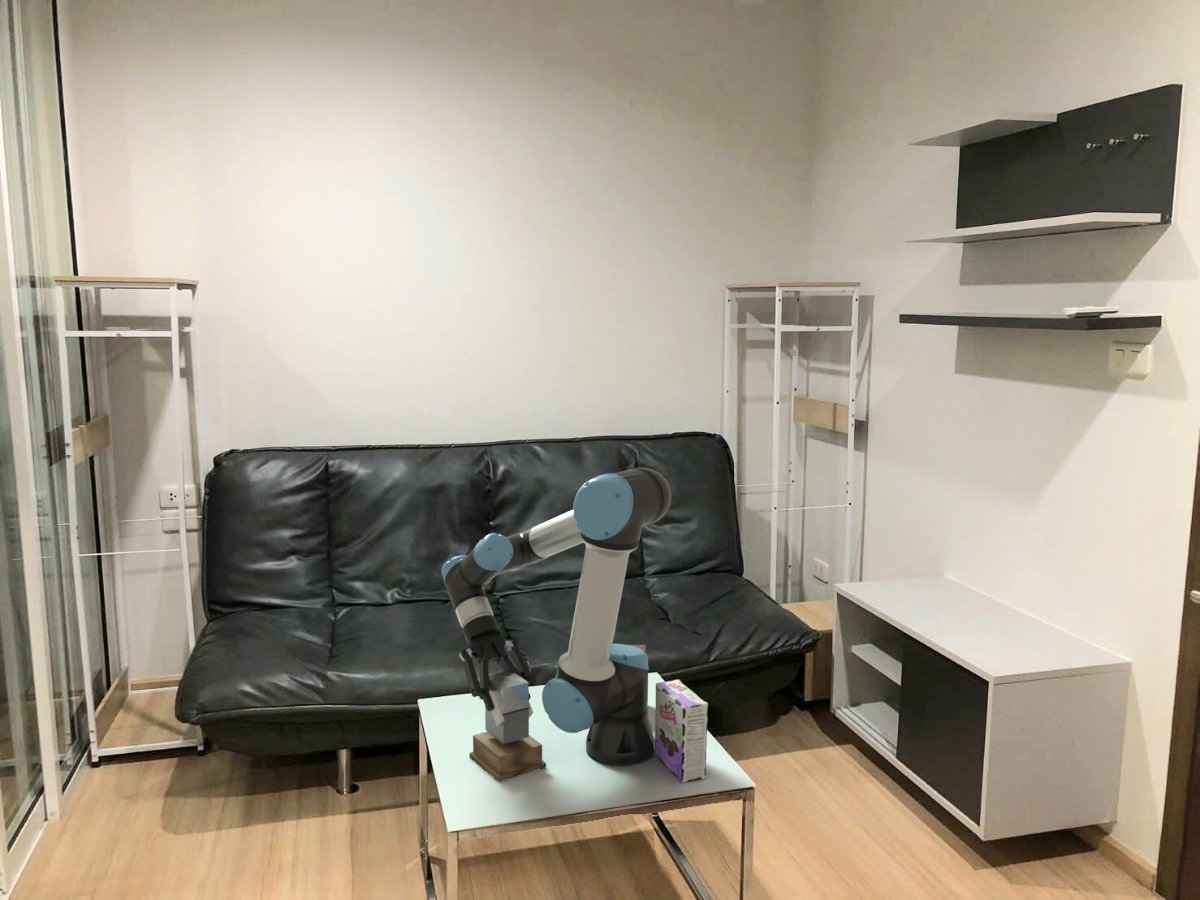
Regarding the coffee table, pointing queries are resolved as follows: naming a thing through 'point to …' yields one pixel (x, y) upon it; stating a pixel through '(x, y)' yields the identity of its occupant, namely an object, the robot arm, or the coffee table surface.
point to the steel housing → (509, 707)
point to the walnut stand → (506, 756)
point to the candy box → (681, 730)
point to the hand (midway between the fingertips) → (515, 719)
